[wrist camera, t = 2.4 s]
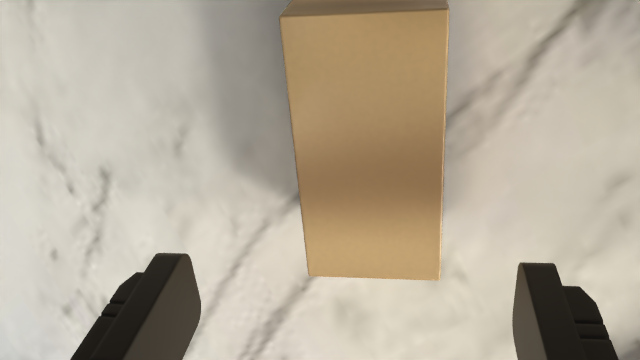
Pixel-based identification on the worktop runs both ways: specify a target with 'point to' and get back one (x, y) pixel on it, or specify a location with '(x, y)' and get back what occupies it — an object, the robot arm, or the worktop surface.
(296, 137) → the eraser
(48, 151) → the worktop surface
